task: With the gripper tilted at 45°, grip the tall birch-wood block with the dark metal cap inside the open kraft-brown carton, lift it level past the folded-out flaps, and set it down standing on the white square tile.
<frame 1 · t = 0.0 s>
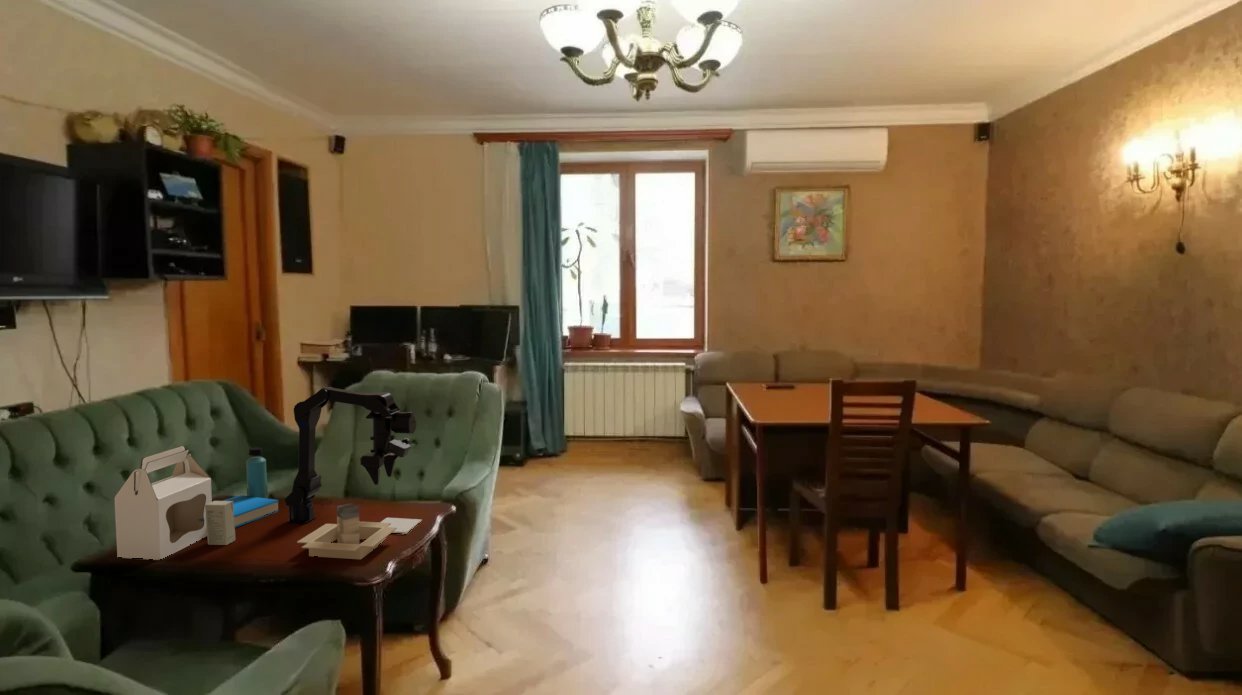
hand: (383, 480, 226), 15 cm above the table, tool pointing down, fingers open, 9 cm apart
skincare box: (221, 543, 211), on the table
beverage bottle: (257, 505, 247), on the table
book: (229, 519, 230), on the table, touching gable box
white square tile: (396, 527, 226), on the table
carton: (348, 547, 208), on the table
capped block: (348, 527, 207), in the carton
gable box: (167, 545, 208), on the table, touching book
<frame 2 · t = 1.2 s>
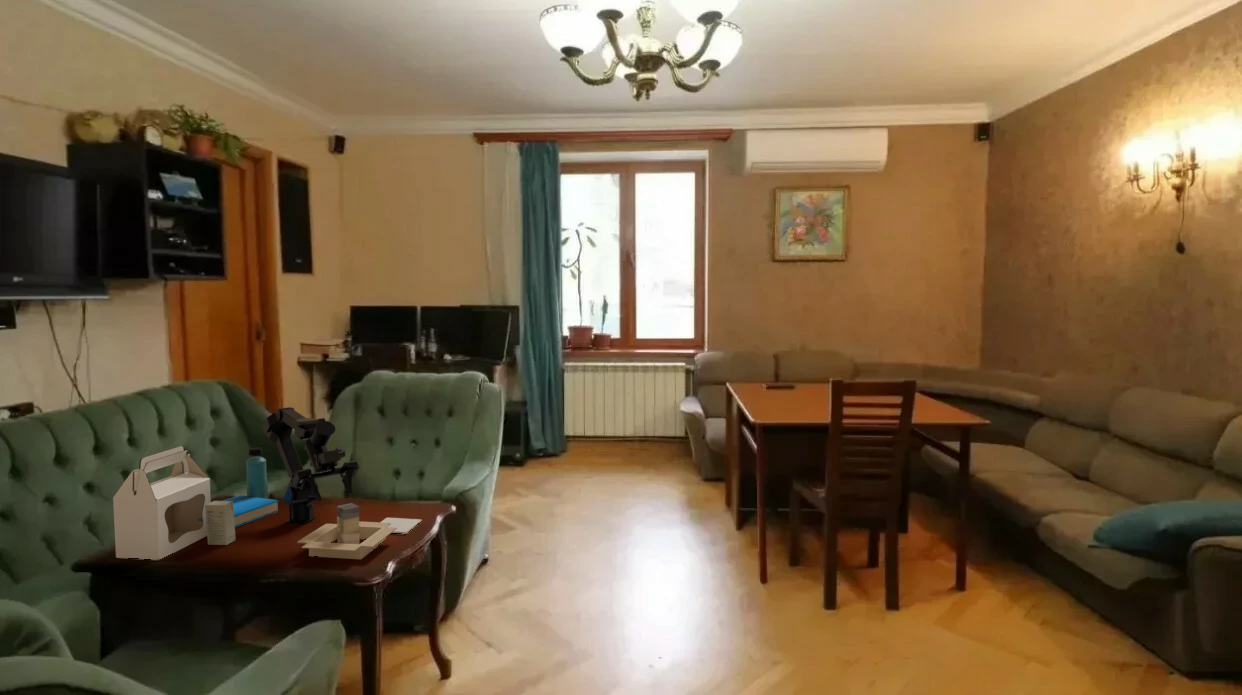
hand: (335, 497, 212), 13 cm above the table, tool tilted 45°, fingers open, 9 cm apart
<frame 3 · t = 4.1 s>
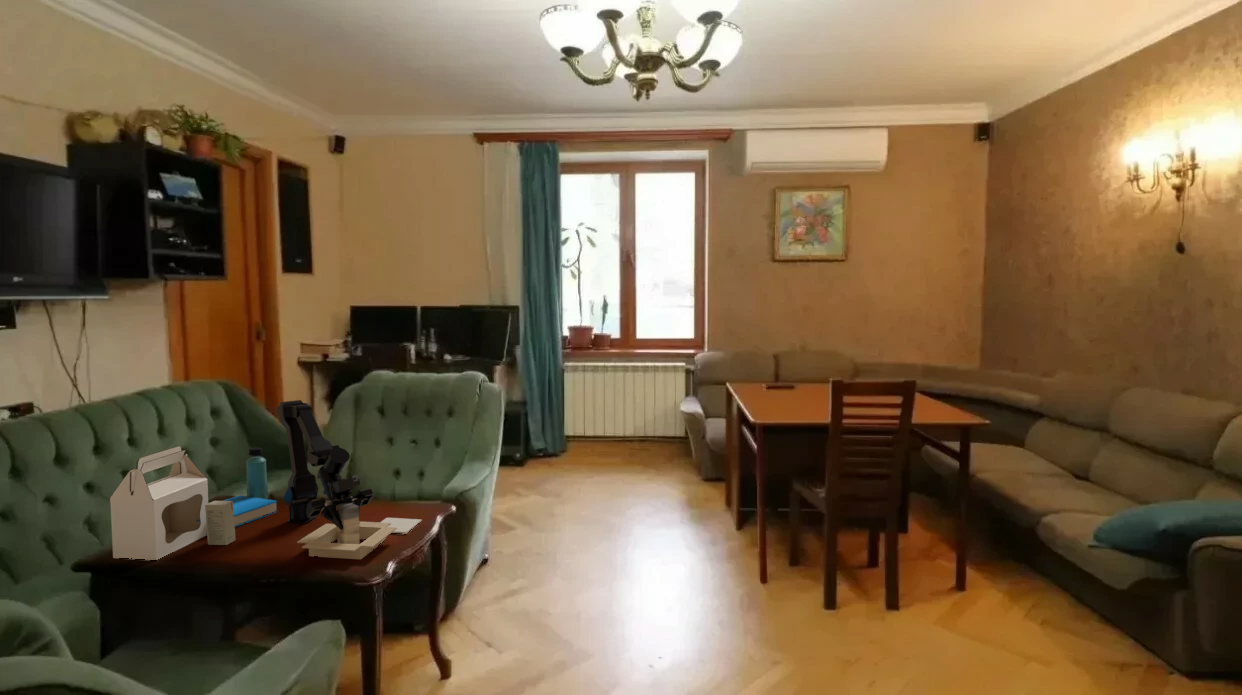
hand: (350, 527, 206), 7 cm above the table, tool tilted 45°, fingers closed on capped block, 4 cm apart
capped block: (348, 527, 207), in the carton, touching gripper
when the fingers open (8 cm above the table, at t = 10.2 s): capped block stays where it is, resting on white square tile.
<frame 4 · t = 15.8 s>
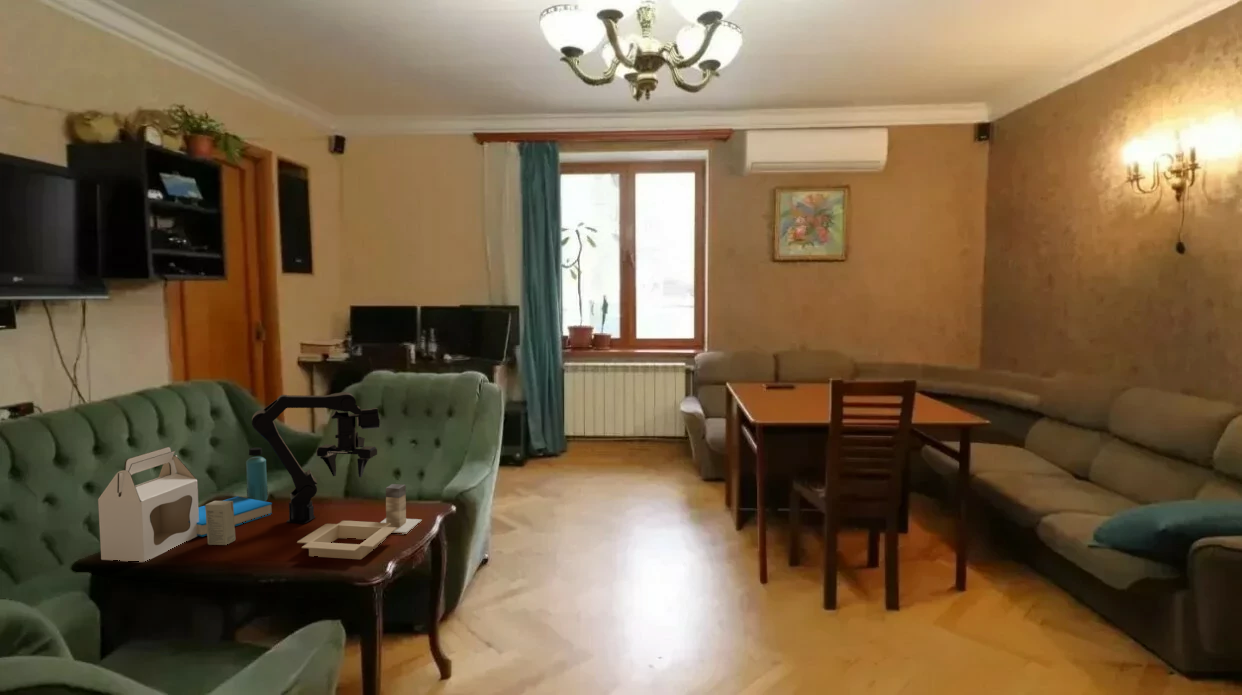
hand: (347, 476, 236), 13 cm above the table, tool pointing down, fingers open, 9 cm apart
book: (220, 521, 229), on the table, touching gable box
capped block: (396, 505, 225), on the white square tile, point 7 cm above the table
gable box: (152, 547, 206), on the table, touching book
everything else where it was.
at the end: capped block inside the target area on the white square tile (0.0 cm from its centre), point 7.0 cm above the white square tile's base; capped block tilted 0°; the gripper is holding nothing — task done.
